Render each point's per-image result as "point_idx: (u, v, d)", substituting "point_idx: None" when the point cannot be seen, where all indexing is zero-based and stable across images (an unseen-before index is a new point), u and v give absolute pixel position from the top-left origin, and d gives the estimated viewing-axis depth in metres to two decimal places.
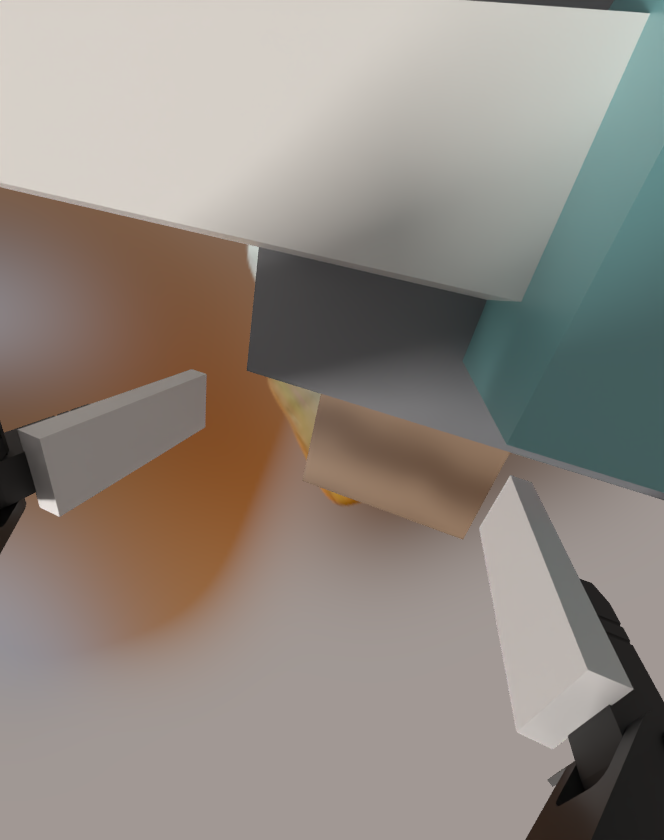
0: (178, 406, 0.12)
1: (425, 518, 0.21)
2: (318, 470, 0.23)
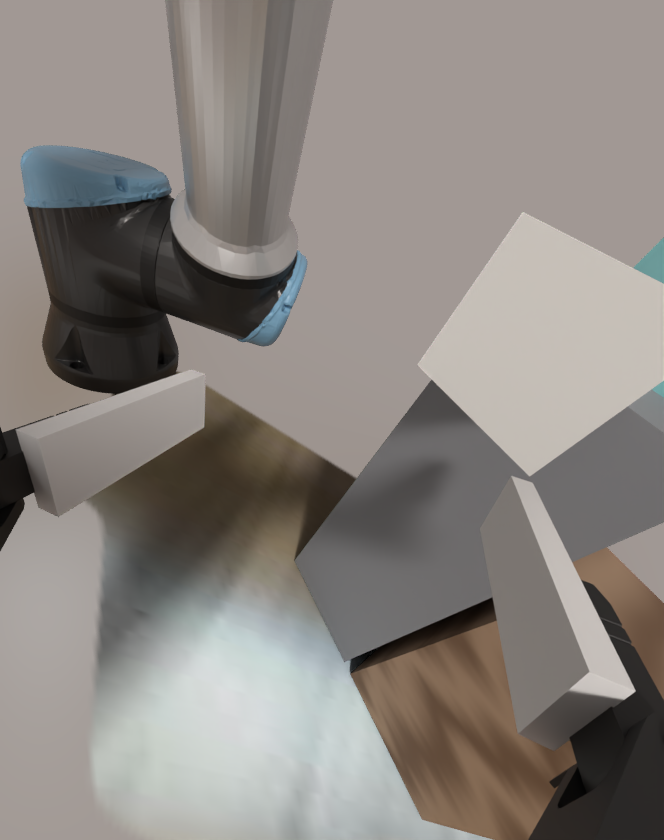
0: (177, 406, 0.12)
1: None
2: None
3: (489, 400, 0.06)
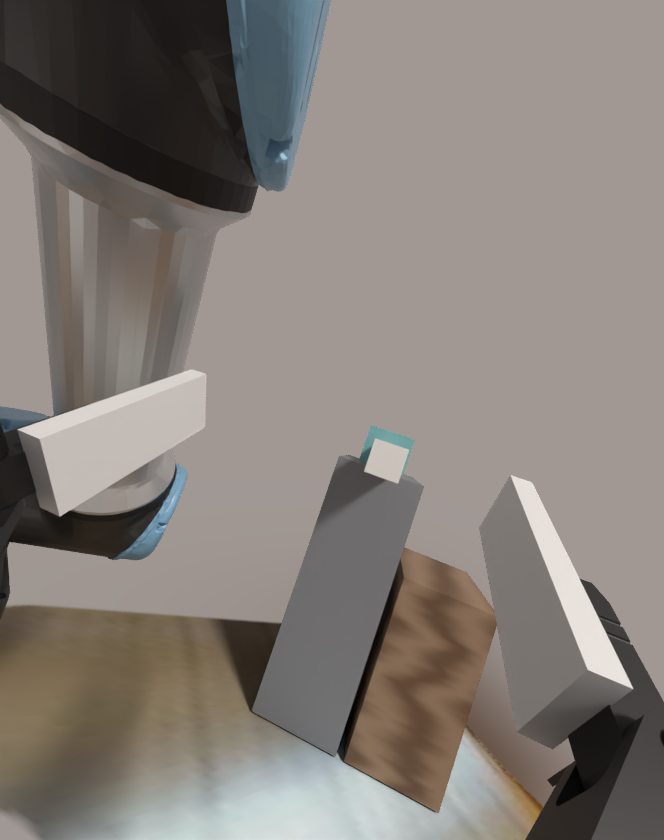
0: (178, 406, 0.12)
1: (468, 578, 0.41)
2: (482, 607, 0.33)
3: (384, 472, 0.26)
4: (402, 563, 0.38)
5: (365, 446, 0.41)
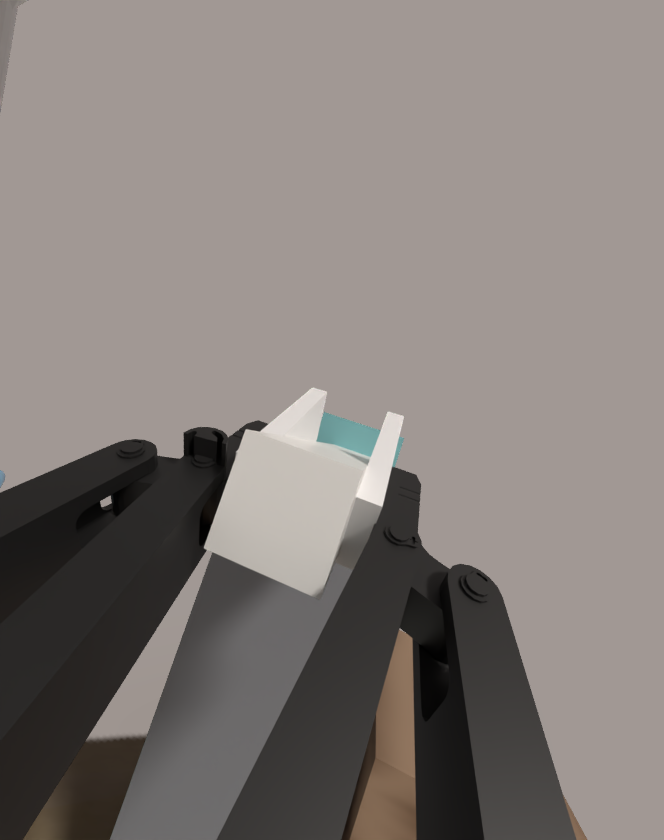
0: (311, 423, 0.14)
1: None
2: None
3: (271, 554, 0.07)
4: None
5: None
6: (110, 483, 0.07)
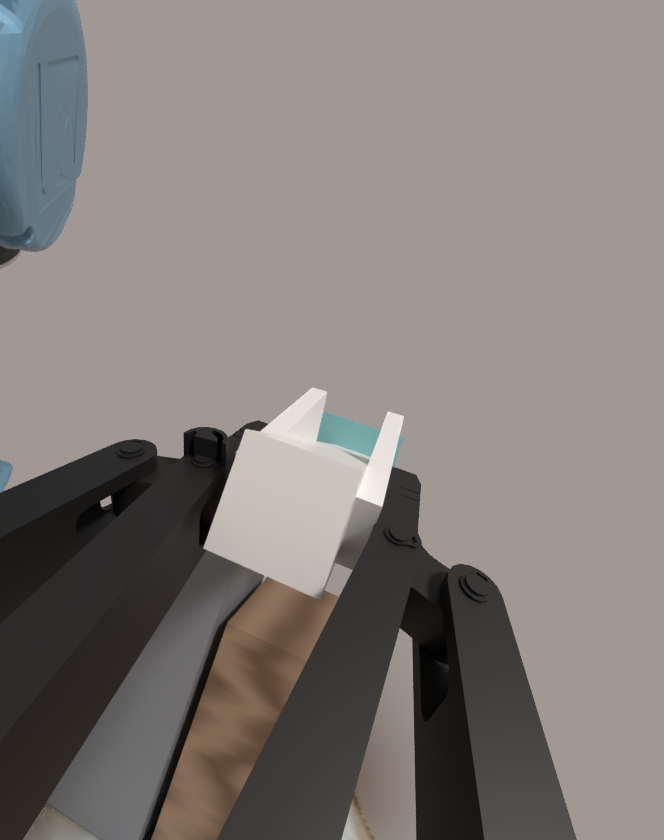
0: (311, 423, 0.14)
1: None
2: None
3: (271, 554, 0.07)
4: (251, 597, 0.30)
5: None
6: (110, 483, 0.07)
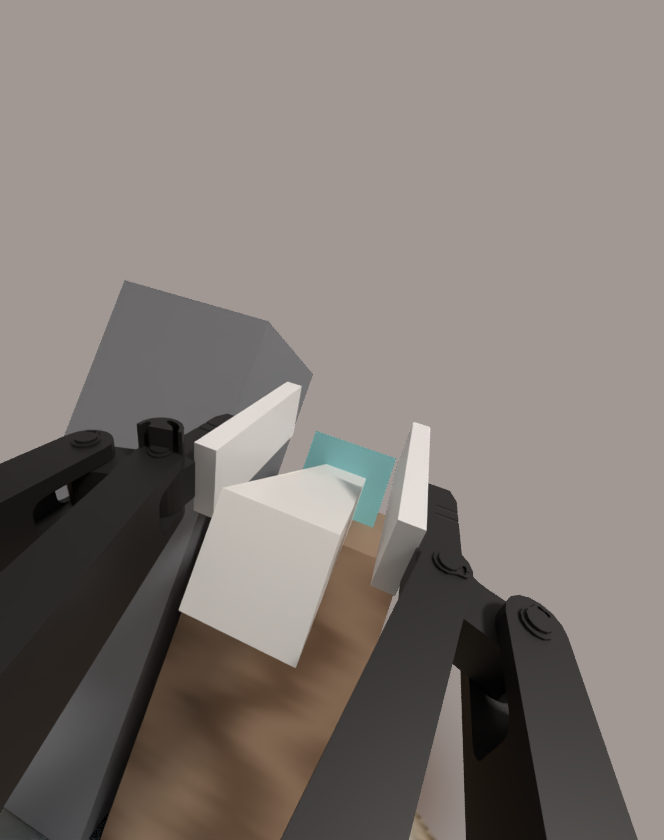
0: (283, 416, 0.14)
1: None
2: (374, 551, 0.16)
3: (247, 618, 0.07)
4: None
5: None
6: (66, 472, 0.07)
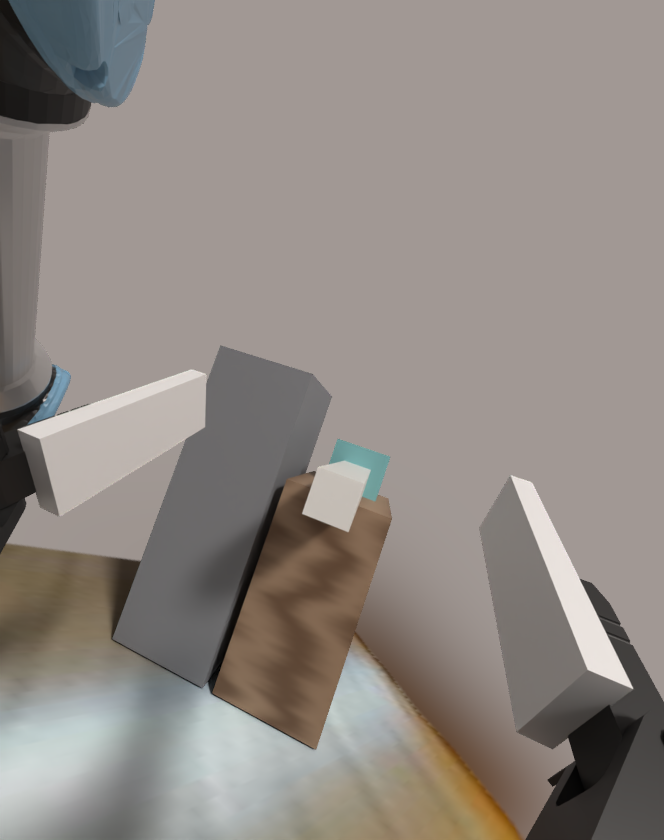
0: (178, 406, 0.12)
1: (383, 500, 0.36)
2: (376, 510, 0.28)
3: (329, 515, 0.19)
4: (300, 475, 0.33)
5: (330, 464, 0.34)
6: None
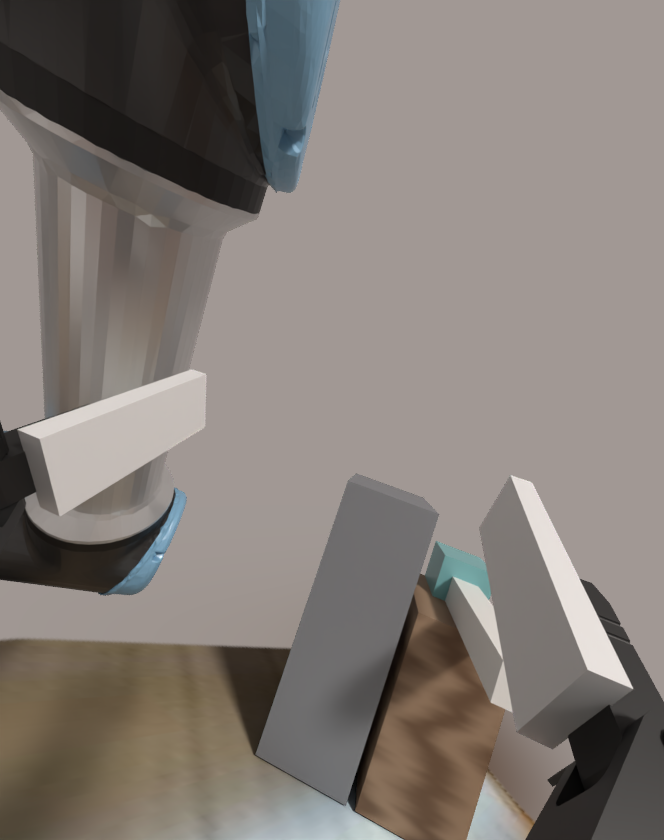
0: (178, 406, 0.12)
1: None
2: None
3: None
4: (414, 593, 0.36)
5: (439, 579, 0.37)
6: None
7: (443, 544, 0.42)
